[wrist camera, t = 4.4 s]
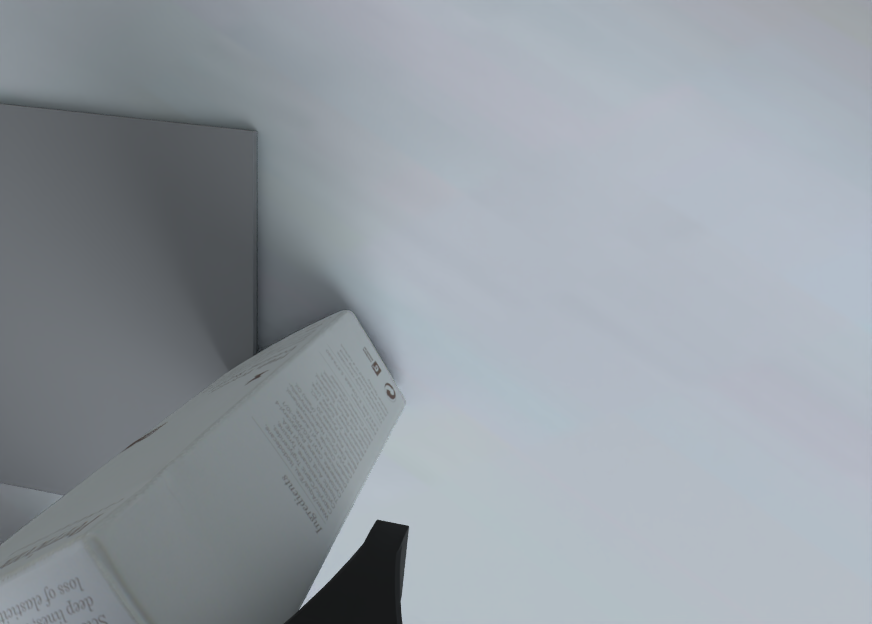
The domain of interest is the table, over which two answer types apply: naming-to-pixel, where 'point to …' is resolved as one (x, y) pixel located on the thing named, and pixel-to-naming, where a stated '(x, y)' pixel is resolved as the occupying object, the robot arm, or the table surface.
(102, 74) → the table surface
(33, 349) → the mat
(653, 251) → the table surface
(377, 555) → the robot arm
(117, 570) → the skincare box
